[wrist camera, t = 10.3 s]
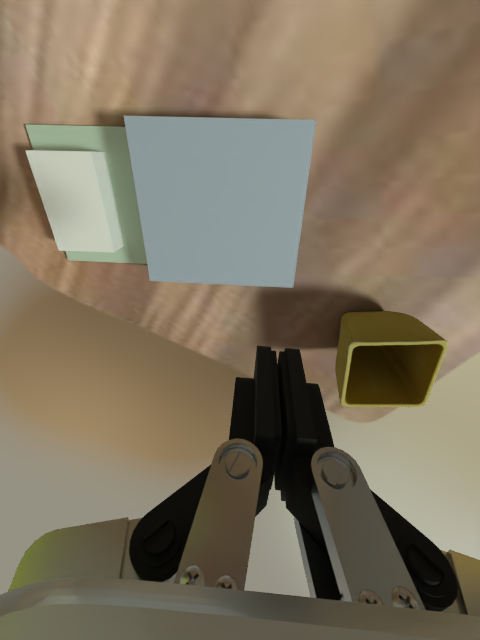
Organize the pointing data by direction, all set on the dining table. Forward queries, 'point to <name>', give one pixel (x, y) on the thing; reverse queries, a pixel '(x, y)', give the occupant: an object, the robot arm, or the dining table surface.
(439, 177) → the dining table surface
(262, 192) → the plate
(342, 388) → the flower pot
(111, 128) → the mat
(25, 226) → the dining table surface
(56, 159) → the white rectangular block
